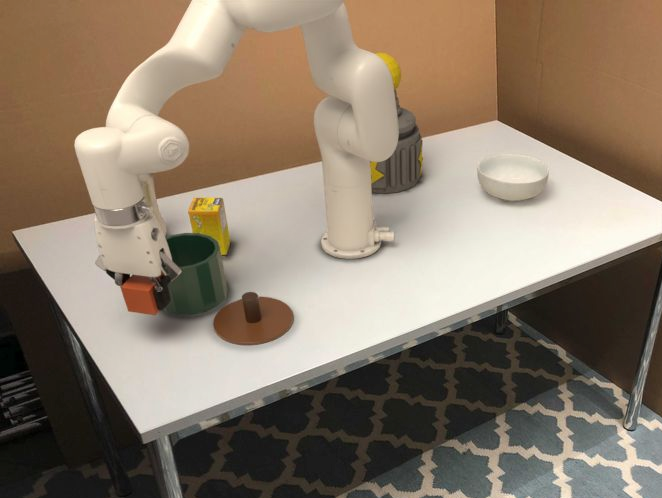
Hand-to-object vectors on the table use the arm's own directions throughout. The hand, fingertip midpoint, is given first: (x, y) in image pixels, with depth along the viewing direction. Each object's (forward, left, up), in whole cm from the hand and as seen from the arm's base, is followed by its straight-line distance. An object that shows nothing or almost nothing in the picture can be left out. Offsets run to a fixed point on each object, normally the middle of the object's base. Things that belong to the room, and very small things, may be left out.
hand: (148, 302), depth 130 cm
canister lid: (-16, -6, -8) cm, 18 cm away
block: (0, 0, 0) cm, 0 cm away
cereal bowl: (-67, -60, -9) cm, 90 cm away
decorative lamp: (-36, -67, -9) cm, 76 cm away
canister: (-3, -14, -8) cm, 16 cm away
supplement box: (-3, -31, -9) cm, 32 cm away
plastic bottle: (+11, -35, -9) cm, 37 cm away
